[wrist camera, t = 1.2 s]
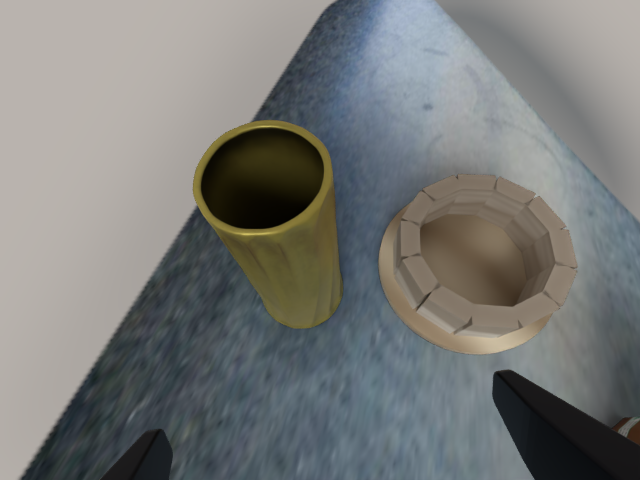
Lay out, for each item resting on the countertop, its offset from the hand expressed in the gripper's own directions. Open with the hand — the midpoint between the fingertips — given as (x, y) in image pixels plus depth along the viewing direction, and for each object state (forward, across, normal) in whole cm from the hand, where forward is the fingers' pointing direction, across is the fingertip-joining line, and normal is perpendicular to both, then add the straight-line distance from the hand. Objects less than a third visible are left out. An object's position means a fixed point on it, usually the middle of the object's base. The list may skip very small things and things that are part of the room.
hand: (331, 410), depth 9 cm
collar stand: (+15, -11, +5) cm, 19 cm away
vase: (+16, +1, +5) cm, 16 cm away
